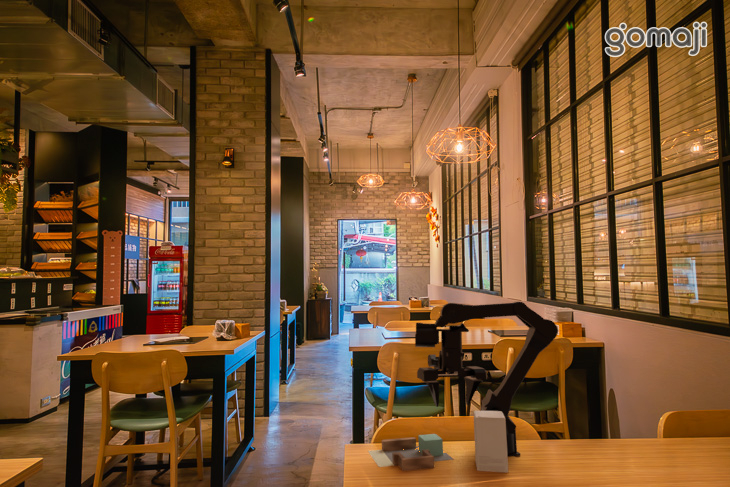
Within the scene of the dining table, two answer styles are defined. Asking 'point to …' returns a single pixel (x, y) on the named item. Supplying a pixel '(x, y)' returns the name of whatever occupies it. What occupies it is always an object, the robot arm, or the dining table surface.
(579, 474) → the dining table surface
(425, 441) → the block
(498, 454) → the supplement box
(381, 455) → the grey board
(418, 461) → the tunnel
